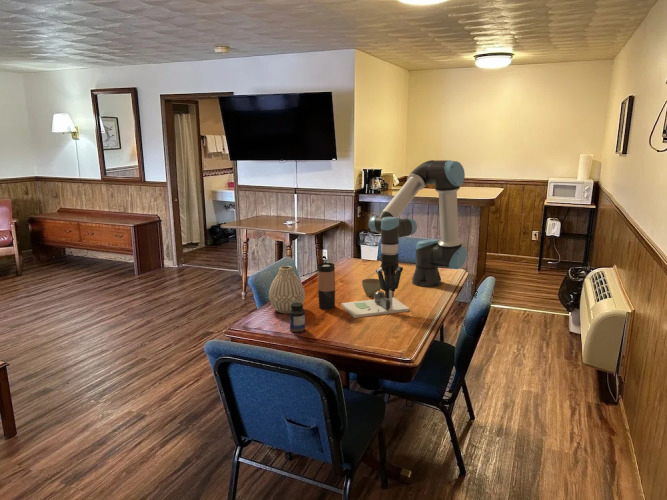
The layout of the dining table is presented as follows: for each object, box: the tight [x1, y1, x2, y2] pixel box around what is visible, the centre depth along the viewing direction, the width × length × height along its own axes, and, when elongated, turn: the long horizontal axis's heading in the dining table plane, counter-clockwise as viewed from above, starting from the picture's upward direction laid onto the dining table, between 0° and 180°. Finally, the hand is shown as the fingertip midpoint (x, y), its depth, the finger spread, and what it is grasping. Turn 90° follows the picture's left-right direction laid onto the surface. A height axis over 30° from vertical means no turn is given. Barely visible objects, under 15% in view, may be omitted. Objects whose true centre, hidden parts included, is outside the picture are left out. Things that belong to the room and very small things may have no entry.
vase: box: [268, 265, 306, 314], centre depth 215 cm, size 16×16×20 cm
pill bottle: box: [288, 302, 306, 334], centre depth 192 cm, size 6×6×11 cm
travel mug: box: [317, 262, 336, 311], centre depth 218 cm, size 8×8×20 cm
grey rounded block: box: [373, 290, 390, 309], centre depth 216 cm, size 12×4×5 cm, turn 17°
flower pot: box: [361, 278, 382, 298], centre depth 236 cm, size 10×10×7 cm
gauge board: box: [341, 296, 410, 319], centre depth 218 cm, size 26×17×2 cm, turn 107°
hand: (389, 304), depth 213 cm, fingers closed
